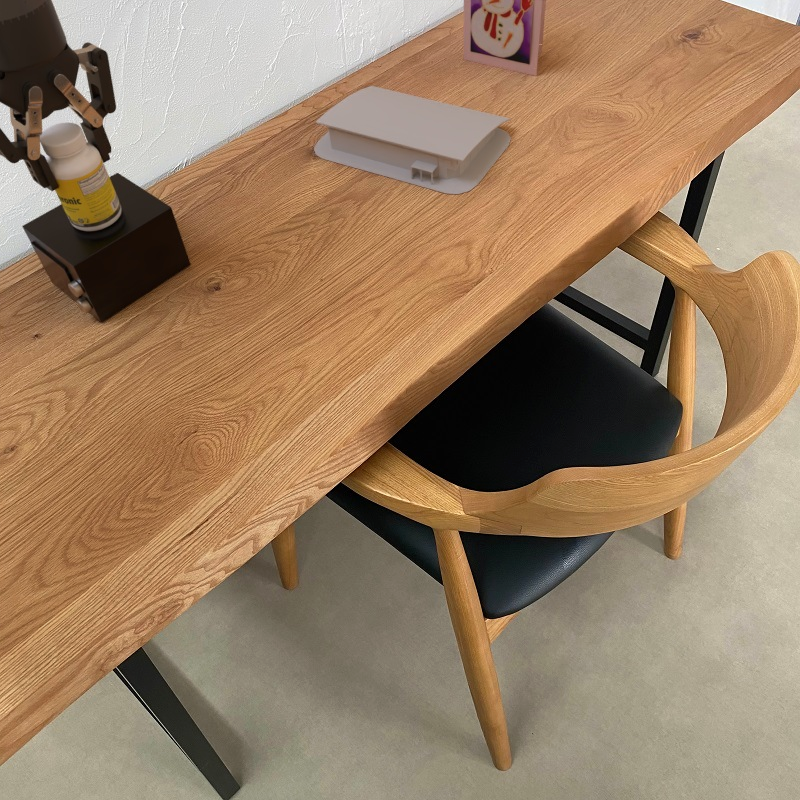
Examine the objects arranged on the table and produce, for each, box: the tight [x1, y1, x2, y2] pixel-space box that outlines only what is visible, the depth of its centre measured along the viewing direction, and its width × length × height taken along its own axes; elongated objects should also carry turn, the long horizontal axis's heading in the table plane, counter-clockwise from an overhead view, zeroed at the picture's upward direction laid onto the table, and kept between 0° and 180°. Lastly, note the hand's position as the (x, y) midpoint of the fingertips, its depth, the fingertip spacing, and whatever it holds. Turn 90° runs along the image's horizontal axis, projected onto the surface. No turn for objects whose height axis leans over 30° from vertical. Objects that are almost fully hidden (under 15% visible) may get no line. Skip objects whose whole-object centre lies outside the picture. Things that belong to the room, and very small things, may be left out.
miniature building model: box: [313, 85, 512, 195], centre depth 101 cm, size 15×23×4 cm, turn 61°
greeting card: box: [463, 0, 547, 77], centre depth 109 cm, size 11×7×15 cm, turn 60°
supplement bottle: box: [40, 122, 121, 231], centre depth 79 cm, size 5×5×10 cm
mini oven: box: [21, 172, 192, 324], centre depth 86 cm, size 13×10×8 cm
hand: (76, 172), depth 79 cm, fingers closed on supplement bottle, 5 cm apart
